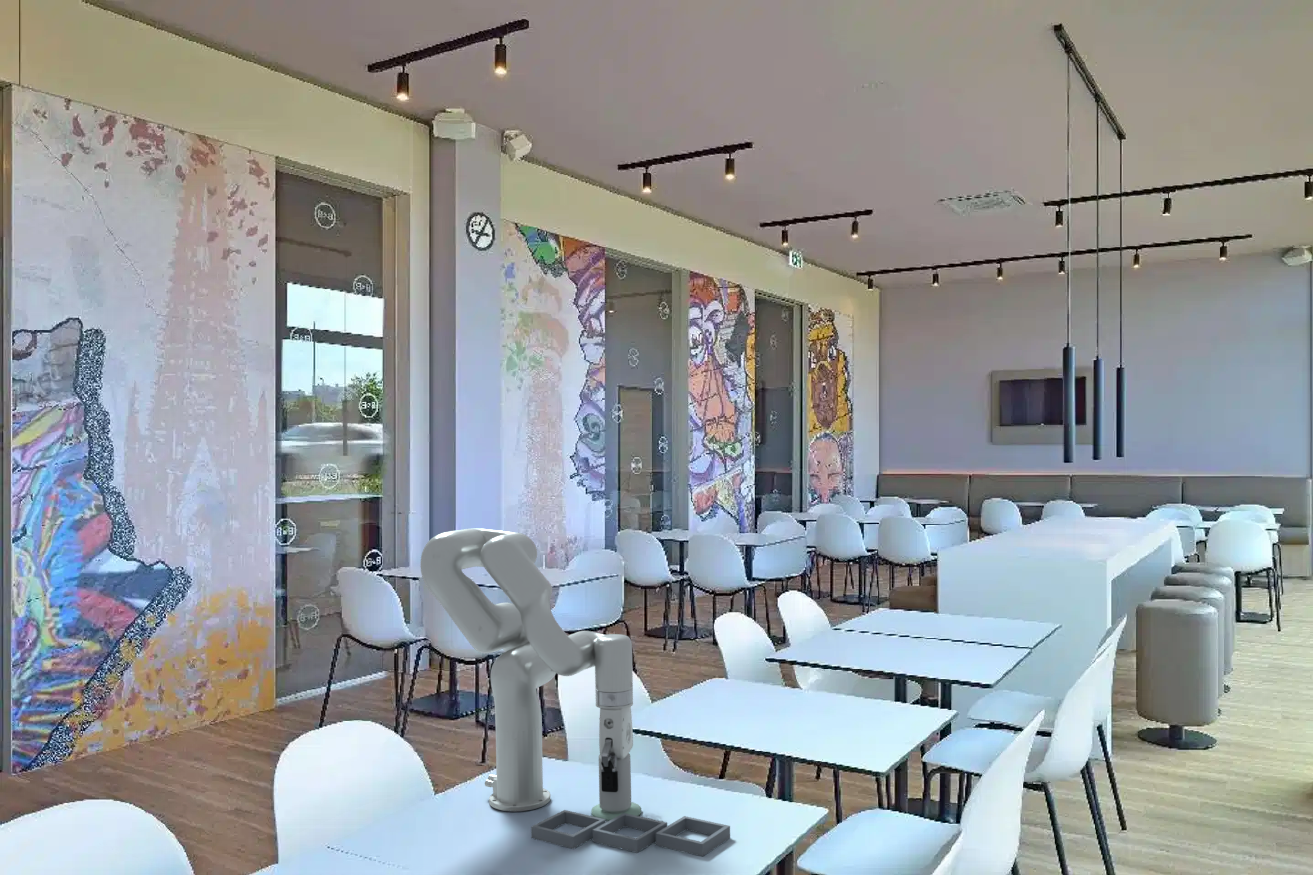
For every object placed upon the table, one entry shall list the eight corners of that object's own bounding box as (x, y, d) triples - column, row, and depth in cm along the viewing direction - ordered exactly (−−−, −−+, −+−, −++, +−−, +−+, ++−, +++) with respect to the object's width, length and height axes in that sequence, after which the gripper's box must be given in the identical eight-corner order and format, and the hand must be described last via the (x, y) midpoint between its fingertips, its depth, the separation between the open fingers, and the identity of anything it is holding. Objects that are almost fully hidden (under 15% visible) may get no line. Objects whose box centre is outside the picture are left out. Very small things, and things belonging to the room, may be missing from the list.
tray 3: (655, 845, 181) (655, 833, 181) (684, 827, 190) (684, 815, 190) (702, 856, 176) (702, 843, 176) (730, 837, 184) (730, 825, 184)
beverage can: (627, 815, 195) (626, 754, 195) (595, 814, 196) (594, 753, 196) (634, 804, 201) (633, 745, 201) (603, 802, 202) (602, 743, 202)
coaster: (581, 815, 197) (581, 812, 197) (610, 800, 205) (610, 797, 205) (622, 825, 191) (622, 821, 191) (651, 809, 200) (650, 806, 200)
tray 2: (592, 841, 183) (592, 829, 183) (623, 824, 192) (623, 812, 192) (637, 852, 178) (637, 840, 178) (667, 834, 186) (667, 822, 186)
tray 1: (531, 838, 186) (531, 826, 186) (564, 821, 194) (564, 809, 194) (573, 848, 180) (573, 836, 180) (605, 830, 189) (605, 819, 189)
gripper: (622, 708, 189) (624, 799, 189) (641, 687, 206) (643, 770, 206) (584, 707, 191) (586, 797, 191) (606, 686, 208) (608, 768, 208)
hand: (615, 783), depth 198 cm, fingers open, 9 cm apart
